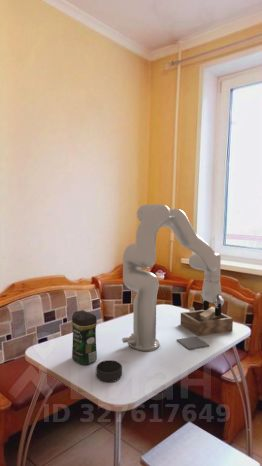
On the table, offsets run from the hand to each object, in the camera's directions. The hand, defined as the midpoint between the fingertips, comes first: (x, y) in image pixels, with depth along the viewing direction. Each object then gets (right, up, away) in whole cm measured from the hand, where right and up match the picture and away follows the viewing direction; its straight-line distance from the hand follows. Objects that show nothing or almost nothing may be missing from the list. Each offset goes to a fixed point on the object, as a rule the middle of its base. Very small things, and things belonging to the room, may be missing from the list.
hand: (211, 312), depth 161 cm
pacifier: (-8, -6, +12) cm, 16 cm away
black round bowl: (-47, -11, -48) cm, 68 cm away
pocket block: (-3, -7, -1) cm, 8 cm away
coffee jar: (-58, -10, -36) cm, 68 cm away
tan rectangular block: (-1, -2, 0) cm, 2 cm away
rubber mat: (-13, -8, -20) cm, 25 cm away
